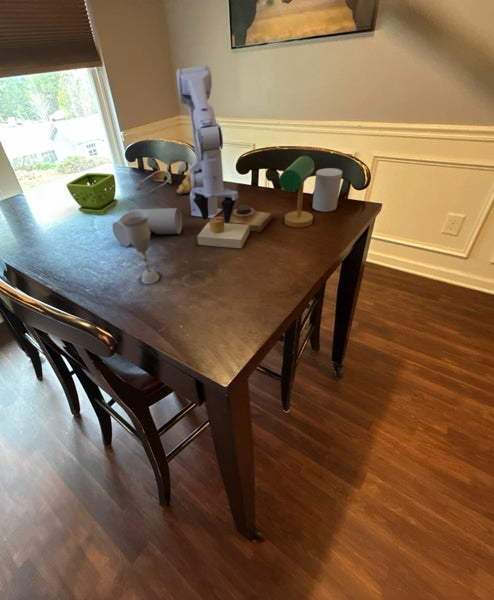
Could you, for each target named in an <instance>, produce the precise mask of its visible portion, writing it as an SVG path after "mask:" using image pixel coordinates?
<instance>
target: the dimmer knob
mask: <svg viewBox="0 0 494 600" xmlns="http://www.w3.org/2000/svg"><path fill="white" fill-rule="evenodd" d="M209 222H210V230H211V232H213V233H220V232H223V231H224V223H225V220H224V217H222V216H215V217H213V218H209Z"/></svg>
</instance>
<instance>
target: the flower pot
mask: <svg viewBox="0 0 494 600" xmlns="http://www.w3.org/2000/svg"><path fill="white" fill-rule="evenodd" d="M115 178H116V177H115V175H114V173H102V172H101V173H100V172H99V173H98V172H87V173H84V174H83V175H81V176H79V177H76V178H74V179H73V180H71V181H69V182H68V183H67V184H66V185H65V186H66V188H67V191H68V192H69V194H70V195H71V197H72V198H73V200H74V201H75V202H76V203H77V205H79V206H80V207H79V208H78V211H79V212H81V213H83V214H91V215H92V214H93V215H104V214H105V213H107V212H108V211H109V210H111V209H112V208H113V207H116V205H117V204H118V202H119V200H118V199H117V198H115V197H116V186H117V185H116V179H115Z"/></svg>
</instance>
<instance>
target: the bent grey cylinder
mask: <svg viewBox="0 0 494 600" xmlns="http://www.w3.org/2000/svg"><path fill="white" fill-rule="evenodd" d="M134 211H144V212H147V213H148V218H147V221H148V225H149V230H150V235H151V234H152V233H155V234H156V235H180V234H181V232H182V229H183V217H182V212H181V210H180V208H179V207H172V208H171V207H169V208H167V207H166V208H136V209H134V208H133V209H132V212H134ZM111 228H112V233H113V235H114V237H115V239H116V240H117V242H118V243H119V244H120V245H122V246H123V247H129V246H132V244H131V243H130V241H129V240H128V238H127V235H126V232H125V228H124V225H123V223H122V222H121V221H120V219H118V220H117V221H114V222H113V223H112V226H111Z"/></svg>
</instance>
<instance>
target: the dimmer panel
mask: <svg viewBox="0 0 494 600" xmlns="http://www.w3.org/2000/svg"><path fill="white" fill-rule="evenodd" d="M249 235H250V230H249V225H243V224H227V223H225V222H224V231H223V232H220V233H213V232H211V230H210V221H209V222H207V223H206V224H205V226H204V227H203V228H202V230H201V231H200V232H199V233H198V234H197V236H196V238H197V245H199V246H210V247H221V248H233V249H242V248H243V246H244V244H245V242H246V241H247V238H248V237H249Z"/></svg>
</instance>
